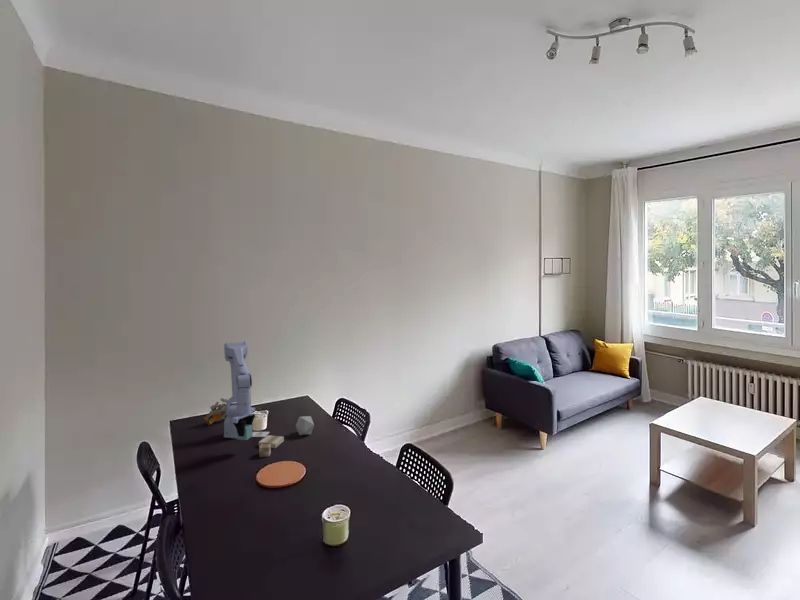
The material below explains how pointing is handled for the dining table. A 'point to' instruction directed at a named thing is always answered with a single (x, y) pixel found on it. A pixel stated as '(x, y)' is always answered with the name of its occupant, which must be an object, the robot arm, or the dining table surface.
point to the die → (305, 425)
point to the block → (265, 450)
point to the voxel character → (217, 412)
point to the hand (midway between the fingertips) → (244, 433)
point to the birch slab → (272, 440)
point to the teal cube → (246, 433)
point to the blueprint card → (260, 434)
